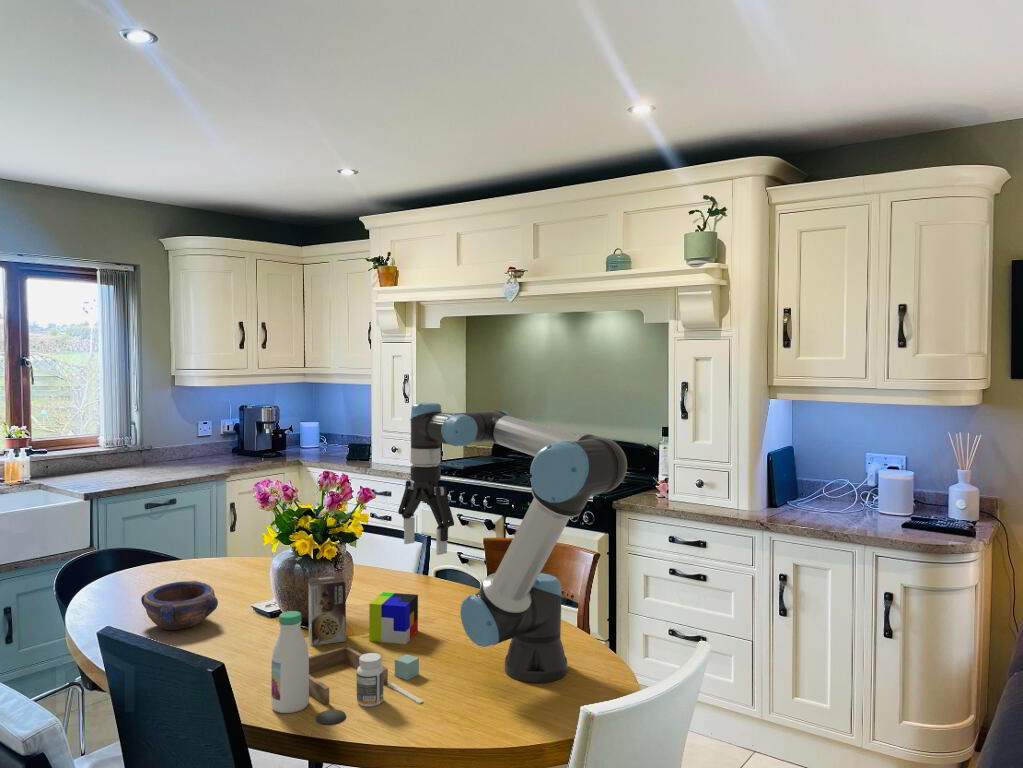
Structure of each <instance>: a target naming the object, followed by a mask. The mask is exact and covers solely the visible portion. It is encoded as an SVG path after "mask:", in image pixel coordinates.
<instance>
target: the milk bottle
mask: <svg viewBox="0 0 1023 768" xmlns="http://www.w3.org/2000/svg"><path fill="white" fill-rule="evenodd" d="M278 623H279V624H278V625H279V627H280V628H279V633H278V636H277V637H276V640H275V642H274V644H273V647H272V653H271V670H270V671H271V677H270V678H271V681H270V682H271V685H270V686H271V688H270V689H271V692H270V693H271V695H270V697H271V700H270V701H271V707H272V710H273V711H274V712H276V713H280V714H292V713H293V714H294V713H296V712H300V711H302V710H304V709H306V707H307V706H308V705H309V703H310V694H309V675H310V673H309V657H310V656H309V647H308V643H307V641H306V639H305V637H304V635H303V634H304V633H303V632H302V628H301V624H302V613H301V612H300V611H297V610H288V611H284V612H281V613H280V614H279V616H278Z"/></svg>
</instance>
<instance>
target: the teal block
mask: <svg viewBox="0 0 1023 768" xmlns="http://www.w3.org/2000/svg"><path fill="white" fill-rule="evenodd" d="M419 674H420V658H419V657H417V656H413V655H410V654H407V653H406V654H403V655H402V656H399V657H398V658H395V659H394V677H397V678H400V679H403V680H406V681H409V680H411V679H412V678H415V677H416V676H419Z"/></svg>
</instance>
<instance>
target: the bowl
mask: <svg viewBox="0 0 1023 768" xmlns="http://www.w3.org/2000/svg"><path fill="white" fill-rule="evenodd" d="M140 601H141V604H142V606H143V607H144V609H145V611H146V615H147V617H148V618H149V619H150V620H151V621H152V623H154V625H156V626H158V627H160V628H162V629H163V630H170V631H171V630H172V631H173V630H182V629H186V628H191V627H194V626H196V625H198V624H199V623H201V622H203V621H204V620H206V619H207V618H208V617H209V616H210V615H211V614H212V613H213V612H214V611H215V610H217V607H218V605H219V600H218V598H217V597H216V595H215V590H214V589H213V587H212V586H211V585H209V584H207V583H205V582H201V581H198V580H188V581H187V580H186V581H185V580H184V581H175V582H171V583H165V584H161V585H159V586H157V587H154V588H152V589H150V590H148V591H147V592H146V593H144V594H143V595H141V598H140Z"/></svg>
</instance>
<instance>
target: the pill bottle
mask: <svg viewBox="0 0 1023 768" xmlns="http://www.w3.org/2000/svg"><path fill="white" fill-rule="evenodd" d="M381 663H382V655H381V654H379V653H374V652H370V653H364V654H362V656H360V658H359V664H360V666H359V667H358V669H356V702H357V704H358V705H359V706H361V707H365V708H370V707H371V708H372V707H375V706H376V707H377V706H378V705H380V704H382V702H383V701H384V685H383V671H384V670H383V667H382V666H383V665H382V666H381Z"/></svg>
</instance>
